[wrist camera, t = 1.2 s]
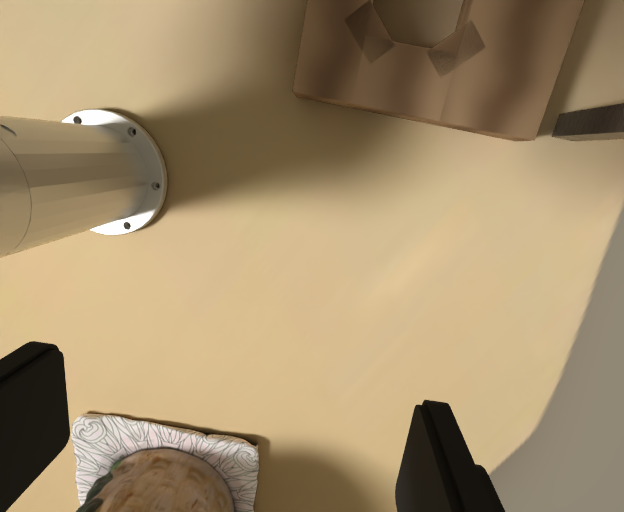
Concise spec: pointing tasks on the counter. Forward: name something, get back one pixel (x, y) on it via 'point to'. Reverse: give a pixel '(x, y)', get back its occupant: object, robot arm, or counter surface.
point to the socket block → (440, 64)
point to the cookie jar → (160, 468)
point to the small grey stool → (591, 124)
